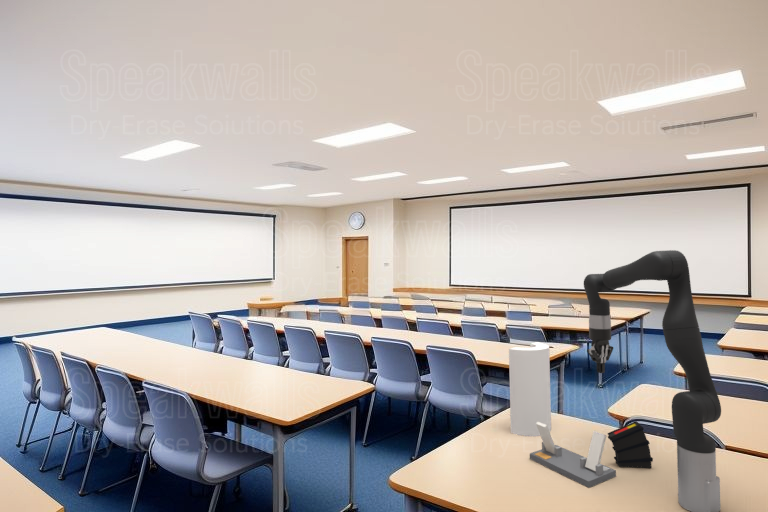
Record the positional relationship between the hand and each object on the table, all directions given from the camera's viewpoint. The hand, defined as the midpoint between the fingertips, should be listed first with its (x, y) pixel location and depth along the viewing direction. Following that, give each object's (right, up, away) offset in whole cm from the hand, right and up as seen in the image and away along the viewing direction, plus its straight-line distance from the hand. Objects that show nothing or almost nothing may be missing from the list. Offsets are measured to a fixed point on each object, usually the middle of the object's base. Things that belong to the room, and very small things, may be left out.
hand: (600, 372), depth 169 cm
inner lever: (-13, -27, -21) cm, 36 cm away
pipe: (-18, -30, +20) cm, 40 cm away
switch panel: (-17, -29, -14) cm, 37 cm away
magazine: (+4, -29, -13) cm, 32 cm away
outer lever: (-21, -27, -7) cm, 35 cm away
